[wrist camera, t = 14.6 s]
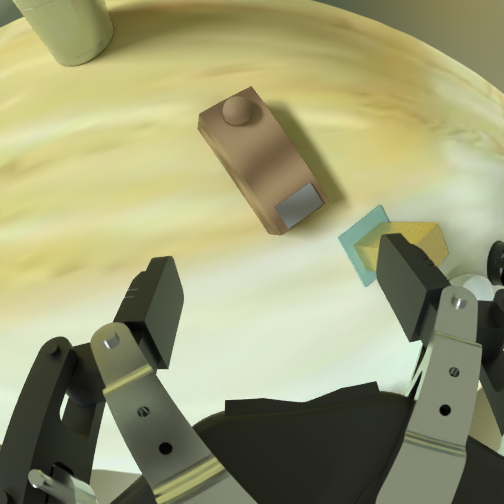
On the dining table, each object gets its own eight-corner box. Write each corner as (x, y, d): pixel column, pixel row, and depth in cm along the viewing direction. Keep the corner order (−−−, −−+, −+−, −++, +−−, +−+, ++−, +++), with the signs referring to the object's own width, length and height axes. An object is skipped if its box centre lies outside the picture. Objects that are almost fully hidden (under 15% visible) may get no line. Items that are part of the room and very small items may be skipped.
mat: (337, 237, 36) (339, 237, 36) (378, 205, 37) (380, 204, 37) (364, 286, 38) (366, 287, 38) (402, 252, 39) (403, 252, 38)
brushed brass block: (352, 245, 37) (407, 252, 26) (382, 220, 37) (439, 220, 26) (365, 269, 37) (420, 284, 27) (394, 244, 38) (451, 251, 27)
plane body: (197, 129, 32) (199, 109, 26) (243, 103, 33) (253, 81, 27) (269, 233, 35) (285, 235, 29) (311, 204, 35) (334, 200, 29)
